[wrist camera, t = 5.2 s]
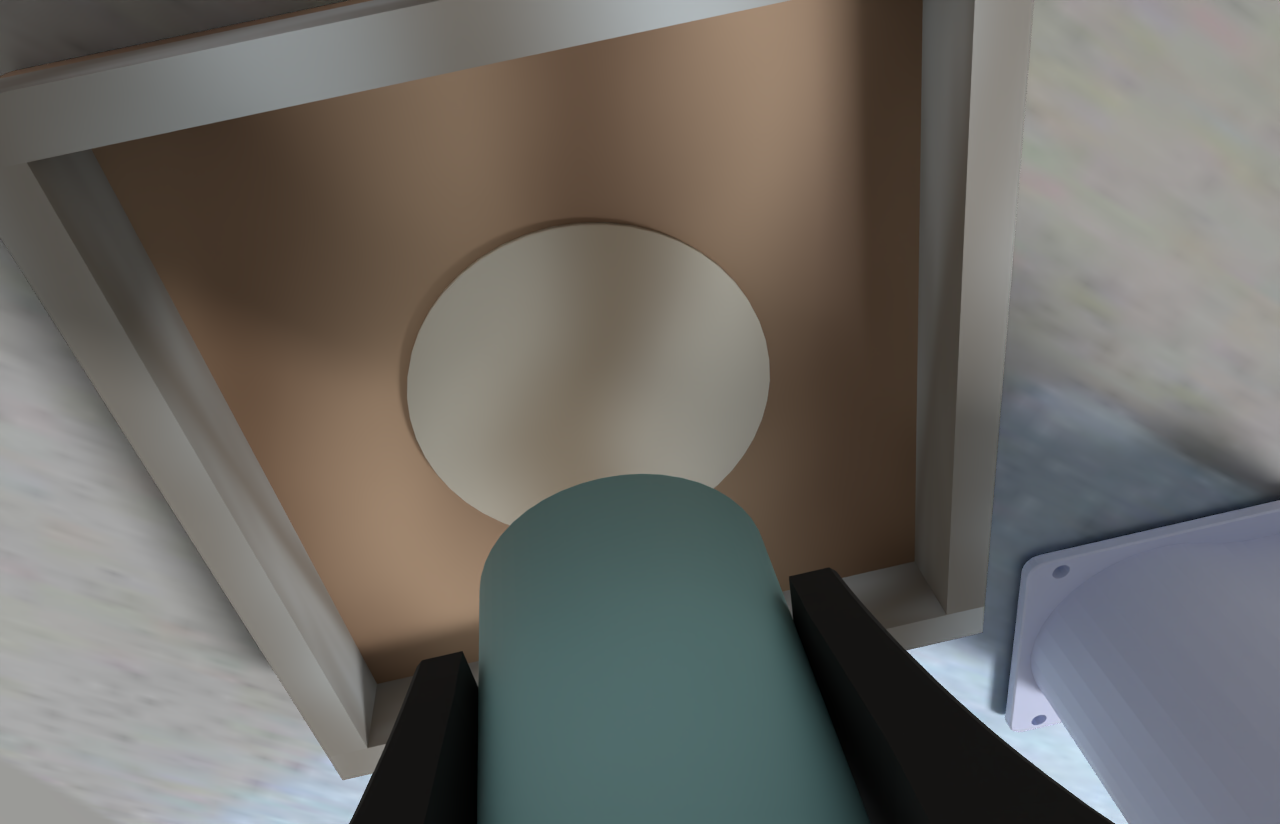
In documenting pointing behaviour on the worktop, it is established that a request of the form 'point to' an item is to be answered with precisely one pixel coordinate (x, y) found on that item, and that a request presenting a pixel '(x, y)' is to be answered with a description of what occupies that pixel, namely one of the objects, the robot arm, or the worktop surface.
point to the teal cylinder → (647, 669)
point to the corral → (535, 294)
